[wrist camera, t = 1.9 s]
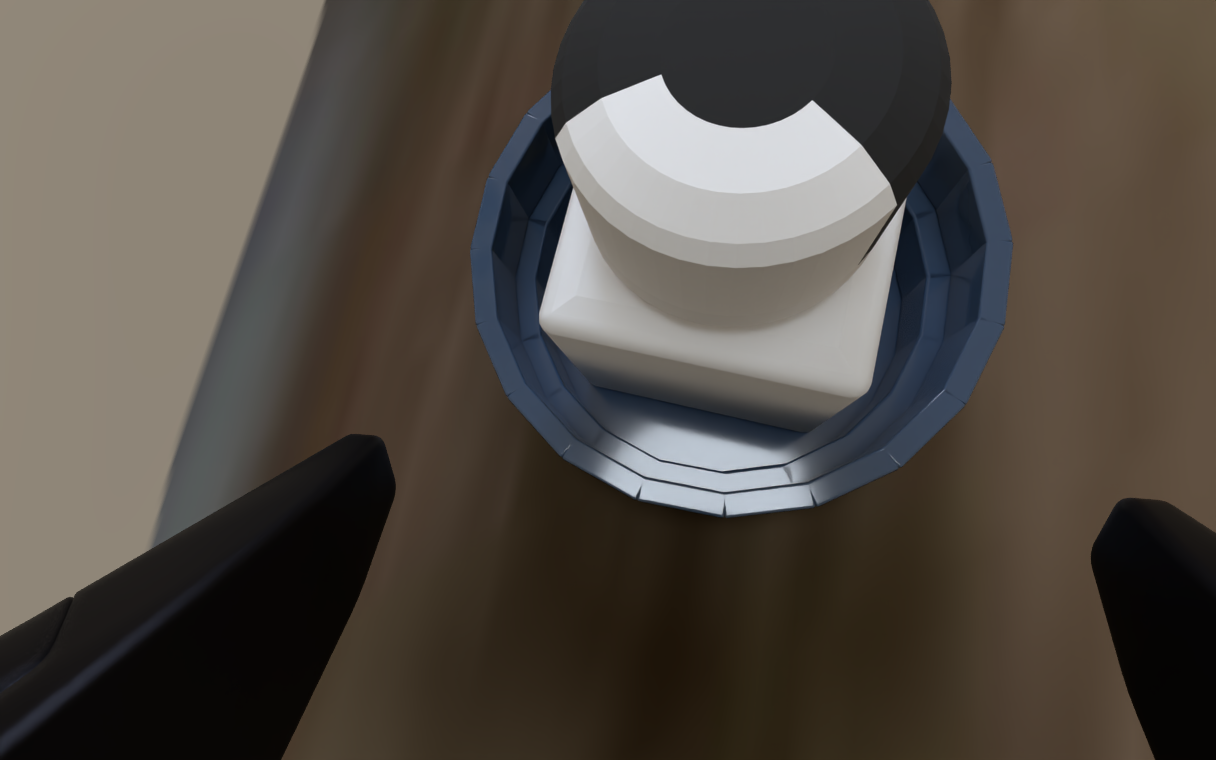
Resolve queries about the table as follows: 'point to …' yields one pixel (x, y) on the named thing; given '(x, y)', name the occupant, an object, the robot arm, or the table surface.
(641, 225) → the medicine bottle
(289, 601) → the robot arm
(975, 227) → the blue round bowl
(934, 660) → the table surface
